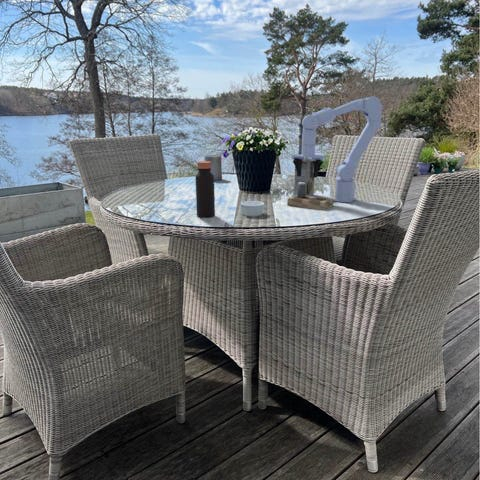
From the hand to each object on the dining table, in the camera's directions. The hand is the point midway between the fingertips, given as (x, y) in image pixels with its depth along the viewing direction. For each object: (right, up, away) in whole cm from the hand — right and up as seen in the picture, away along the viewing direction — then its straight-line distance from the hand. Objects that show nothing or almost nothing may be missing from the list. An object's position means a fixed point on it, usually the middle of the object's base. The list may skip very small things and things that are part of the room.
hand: (307, 176), depth 182 cm
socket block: (0, -13, -7) cm, 15 cm away
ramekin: (-25, -18, -21) cm, 37 cm away
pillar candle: (-45, +8, +63) cm, 78 cm away
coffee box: (+1, -7, +14) cm, 16 cm away
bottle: (-42, -19, -24) cm, 52 cm away
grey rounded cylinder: (-3, -12, -5) cm, 13 cm away
